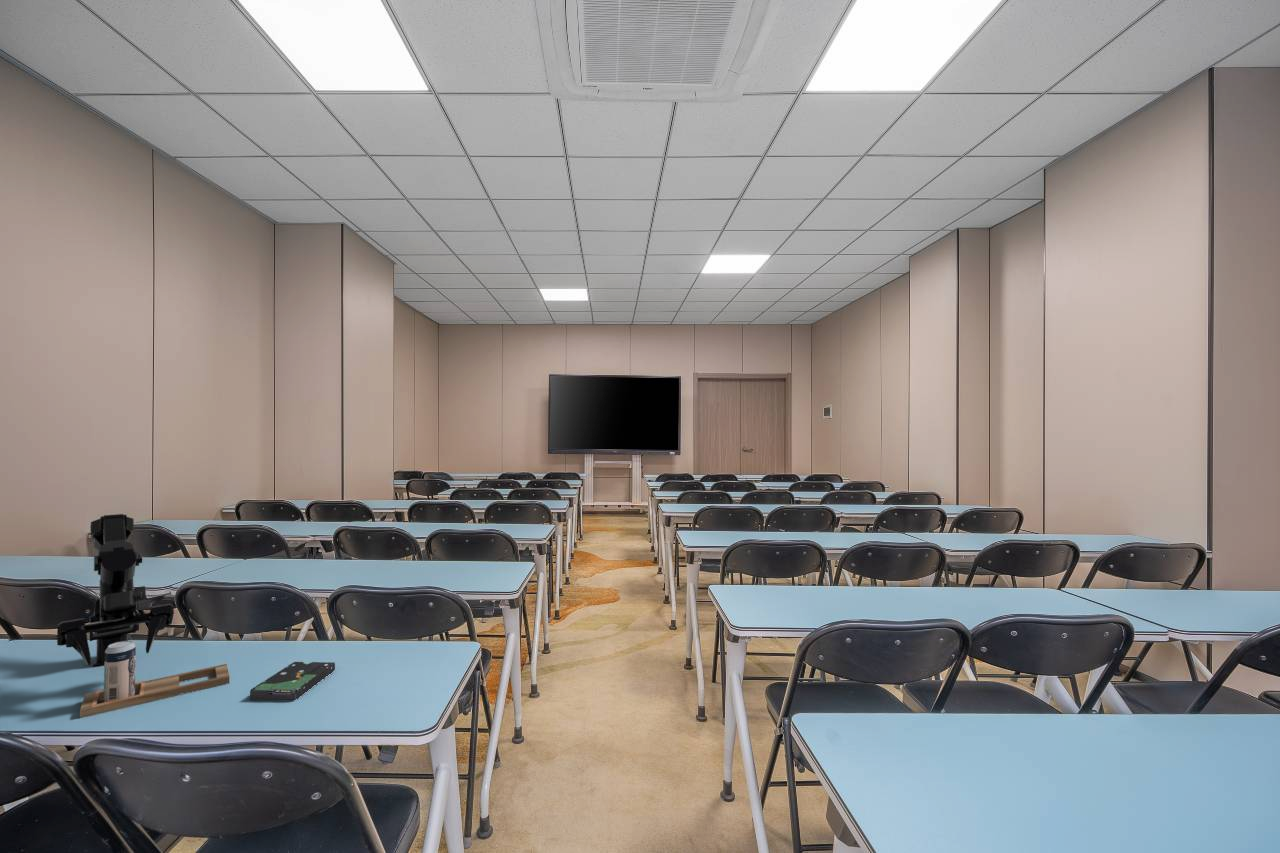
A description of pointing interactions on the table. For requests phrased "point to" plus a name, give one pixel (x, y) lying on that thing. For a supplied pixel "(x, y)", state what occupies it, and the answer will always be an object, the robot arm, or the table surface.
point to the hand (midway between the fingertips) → (119, 658)
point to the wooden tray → (156, 690)
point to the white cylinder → (119, 671)
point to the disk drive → (292, 681)
